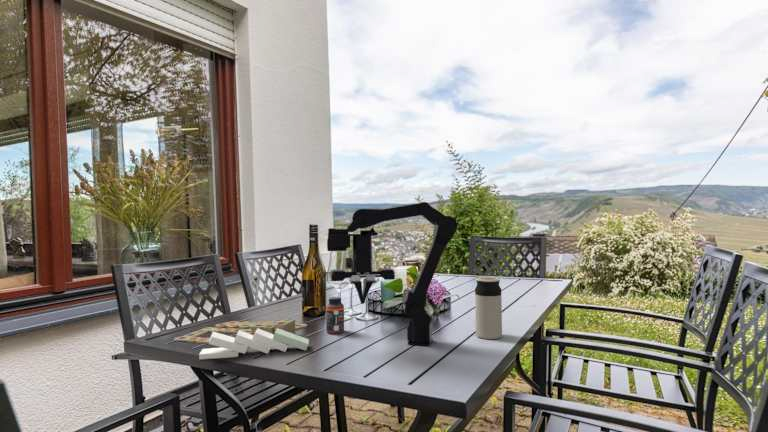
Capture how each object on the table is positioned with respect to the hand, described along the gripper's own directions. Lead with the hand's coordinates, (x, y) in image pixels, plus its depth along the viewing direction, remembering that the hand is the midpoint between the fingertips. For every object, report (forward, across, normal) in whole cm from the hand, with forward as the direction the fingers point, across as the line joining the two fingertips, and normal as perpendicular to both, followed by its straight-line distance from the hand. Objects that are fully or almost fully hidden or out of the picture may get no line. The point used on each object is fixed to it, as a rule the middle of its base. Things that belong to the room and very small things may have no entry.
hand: (362, 303), depth 133 cm
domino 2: (+12, +35, 0) cm, 37 cm away
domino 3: (+12, +27, 0) cm, 29 cm away
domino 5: (+11, +16, 0) cm, 20 cm away
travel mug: (+12, -40, +2) cm, 41 cm away
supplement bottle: (+12, +7, -16) cm, 22 cm away
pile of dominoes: (+13, +36, -23) cm, 44 cm away
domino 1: (+11, +33, +1) cm, 35 cm away
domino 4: (+12, +22, 0) cm, 25 cm away
